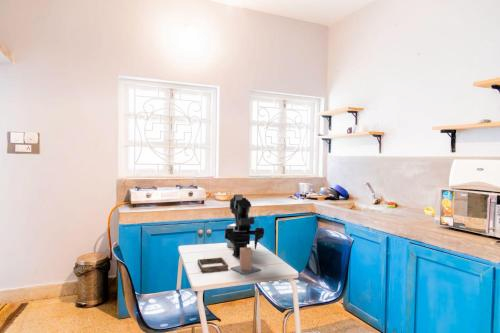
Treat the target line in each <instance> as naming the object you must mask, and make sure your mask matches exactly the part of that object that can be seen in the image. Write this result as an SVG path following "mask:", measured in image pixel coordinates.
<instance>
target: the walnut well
mask: <svg viewBox="0 0 500 333" xmlns="http://www.w3.org/2000/svg"><path fill="white" fill-rule="evenodd" d="M211 263H213V264H214V263H221V264H222V265H212V266H203V264H211ZM197 265H198V268H199V269H200V272H201V273H205V272H206V273H207V272H214V271H225V270H226V271H227V270H229V264H228V263H227V262H226V261H225V259H224V258H223V257H222V256H221V257H210V258H201V259H200V258H198V259H197Z"/></svg>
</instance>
